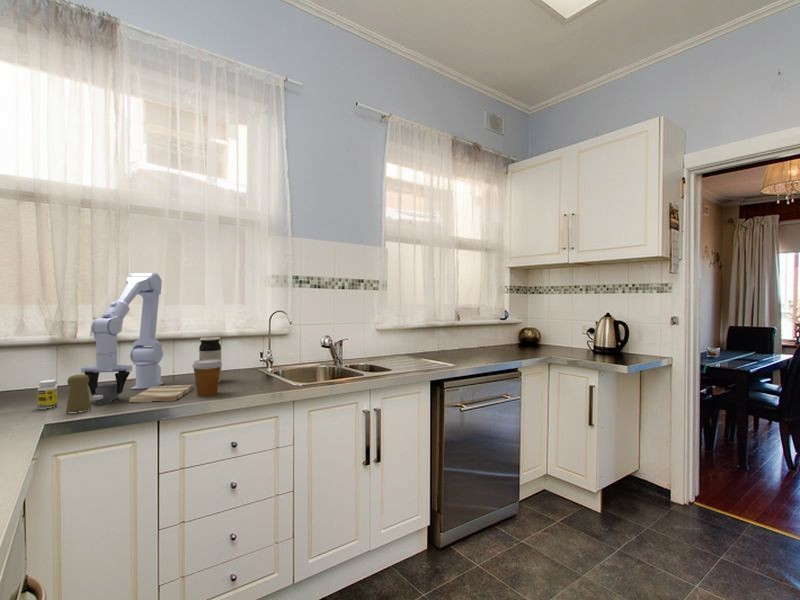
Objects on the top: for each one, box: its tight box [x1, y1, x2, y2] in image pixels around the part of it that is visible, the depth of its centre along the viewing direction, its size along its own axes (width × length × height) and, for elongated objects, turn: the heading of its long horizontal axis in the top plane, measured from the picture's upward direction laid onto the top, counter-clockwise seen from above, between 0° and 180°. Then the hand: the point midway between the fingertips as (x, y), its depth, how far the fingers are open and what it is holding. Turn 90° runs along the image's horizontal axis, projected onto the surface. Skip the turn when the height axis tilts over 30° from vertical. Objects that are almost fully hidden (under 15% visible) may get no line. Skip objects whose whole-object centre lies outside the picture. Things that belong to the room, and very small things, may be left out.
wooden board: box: [129, 384, 195, 403], centre depth 142 cm, size 18×14×2 cm
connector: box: [91, 382, 119, 404], centre depth 134 cm, size 11×4×5 cm, turn 10°
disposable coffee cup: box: [191, 359, 223, 397], centre depth 142 cm, size 10×10×12 cm
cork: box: [65, 373, 92, 413], centre depth 123 cm, size 6×6×11 cm
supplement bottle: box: [37, 379, 59, 410], centre depth 127 cm, size 5×5×8 cm
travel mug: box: [198, 336, 222, 383], centre depth 163 cm, size 8×8×18 cm
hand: (107, 393), depth 135 cm, fingers open, 7 cm apart
